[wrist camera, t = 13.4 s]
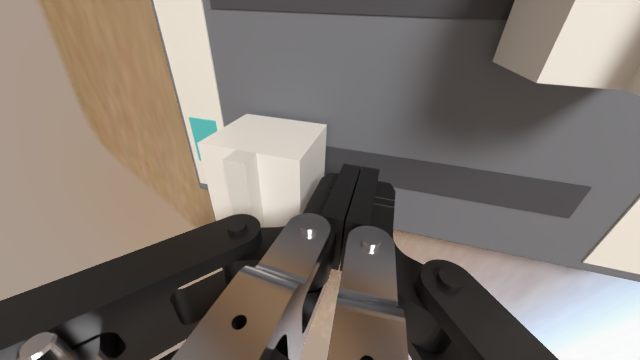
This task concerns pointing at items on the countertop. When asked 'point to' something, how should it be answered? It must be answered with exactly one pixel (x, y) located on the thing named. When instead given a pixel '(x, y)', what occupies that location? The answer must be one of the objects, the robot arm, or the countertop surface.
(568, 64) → the tab
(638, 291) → the countertop surface
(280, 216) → the tab
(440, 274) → the robot arm
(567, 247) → the switch panel
